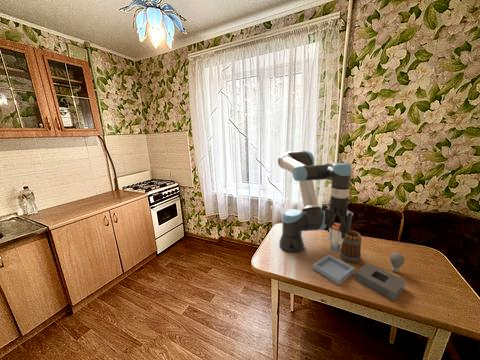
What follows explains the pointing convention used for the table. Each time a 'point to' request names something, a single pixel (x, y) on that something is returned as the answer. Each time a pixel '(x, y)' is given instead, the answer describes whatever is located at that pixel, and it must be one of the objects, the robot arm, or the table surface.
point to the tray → (333, 269)
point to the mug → (351, 247)
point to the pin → (335, 238)
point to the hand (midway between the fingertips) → (335, 240)
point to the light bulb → (396, 261)
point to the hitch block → (380, 281)
